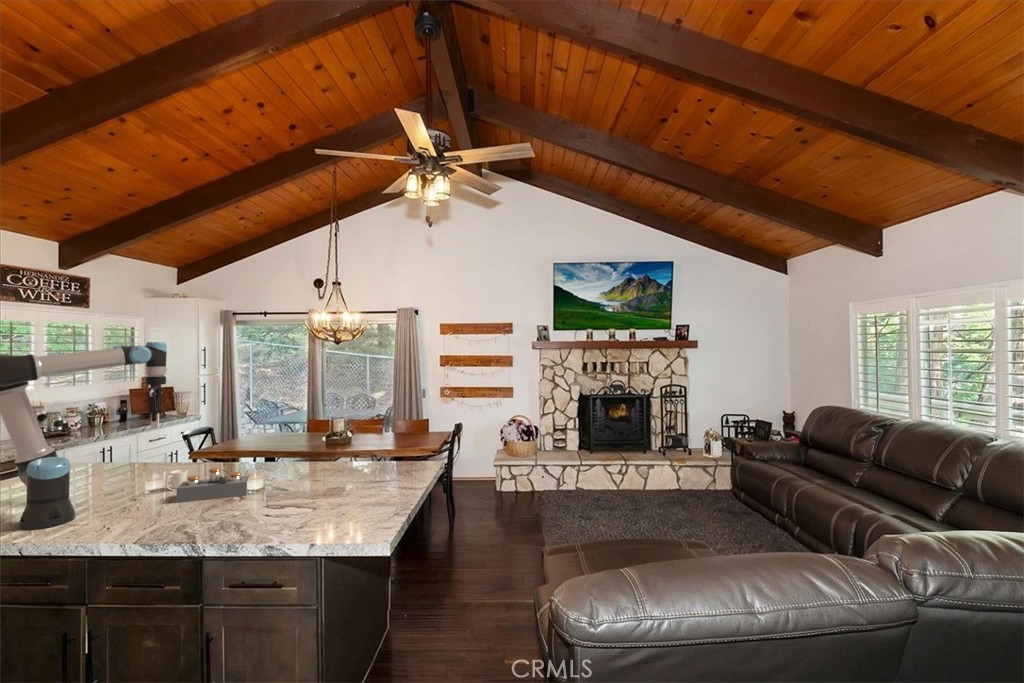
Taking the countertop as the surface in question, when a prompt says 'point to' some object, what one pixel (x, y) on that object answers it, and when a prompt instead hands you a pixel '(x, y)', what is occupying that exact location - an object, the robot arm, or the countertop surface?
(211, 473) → the knob mid
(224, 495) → the panel
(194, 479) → the knob near
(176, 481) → the cup
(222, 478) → the dial
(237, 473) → the knob far
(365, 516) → the countertop surface
